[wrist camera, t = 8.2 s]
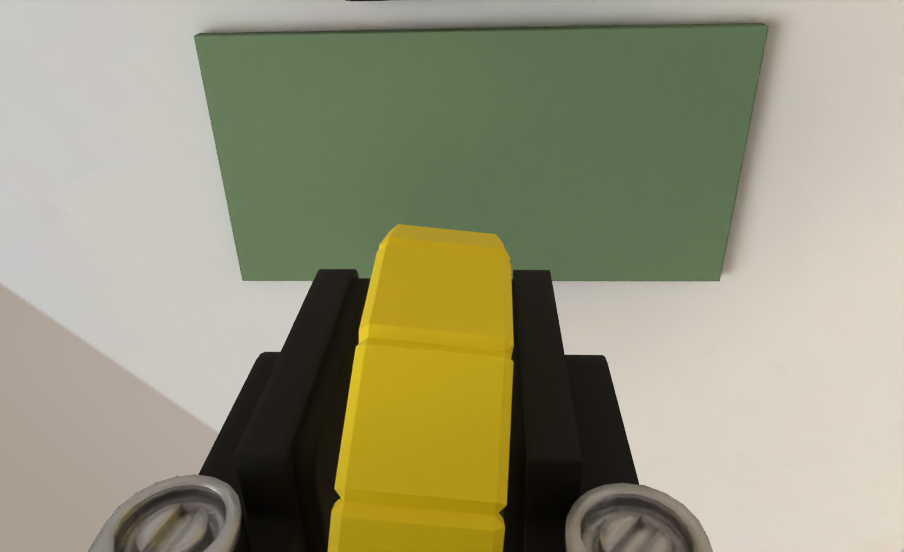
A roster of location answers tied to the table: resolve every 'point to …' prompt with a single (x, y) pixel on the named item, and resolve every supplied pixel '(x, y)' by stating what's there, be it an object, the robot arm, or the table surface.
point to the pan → (365, 0)
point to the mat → (485, 144)
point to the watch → (429, 399)
